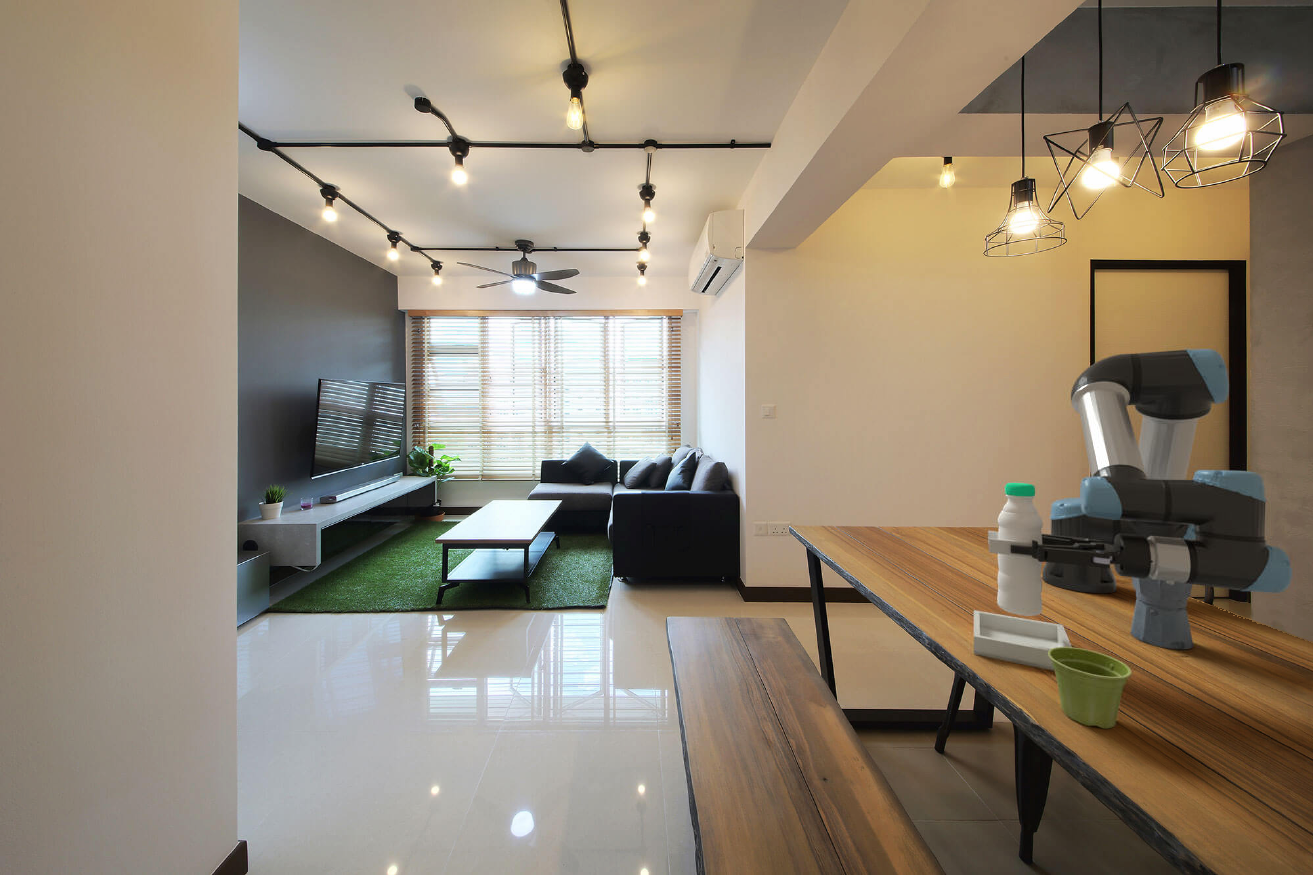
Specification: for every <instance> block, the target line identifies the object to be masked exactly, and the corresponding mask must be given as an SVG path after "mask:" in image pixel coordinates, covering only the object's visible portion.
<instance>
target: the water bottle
mask: <svg viewBox="0 0 1313 875" xmlns="http://www.w3.org/2000/svg"><path fill="white" fill-rule="evenodd" d="M1004 494H1005V497H1007V501H1006V503H1005V504H1004V505H1003V508H1002V510H1001V511H1000V513H999V515H998V517H997V524H998V531H997V532H998V539H1002V540H1013V541H1022V542H1031V547H1032V540H1035V541H1037V542H1038V544H1041V545H1042V534H1043V533H1042V528H1043V523H1044V522H1043V519H1042V517H1041V516H1040V514H1039V513H1038V510H1037V507H1036V506H1035V505H1034V503H1033V500H1034V499H1035V495H1036V487H1035V485H1034V484H1031V483H1025V482H1008V483H1006V484H1005V486H1004ZM997 566H998V572H997V585H998V589H997V594H996V595H997V597H996V598H997V600H996V602H997V605H998V607H999V608H1000V609H1001V610H1004V611H1005V612H1008V613H1010V614H1014V615H1019V616H1027V617H1032V616H1035V617H1036V616H1038V615H1040V614H1041V613H1042V612H1043V598H1042V592H1043V591H1042V590H1043V579H1042V571H1043V568H1042V567H1043V562H1040V561H1038V559H1034V558H1032V556H1031V557H1023V556H1014V555H1005V554H997Z"/></svg>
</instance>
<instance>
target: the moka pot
mask: <svg viewBox="0 0 1313 875" xmlns="http://www.w3.org/2000/svg"><path fill="white" fill-rule="evenodd" d="M1131 582H1132V587H1133V589H1134V591H1135V597H1136V600H1135V606H1134V610H1133V615H1132V616H1133V617H1132V622H1131V626H1130V627H1131V628H1130V635H1131V636H1133V638H1136V639H1137V640H1139V641H1140V642H1142V643H1146V644H1148V645H1151V646H1155V647H1159V648H1163V649H1164V648H1165V649H1171V650H1189V649H1192V648H1193V647H1194V640H1193V637H1192V636H1193V635H1192V632H1191V626H1190V620H1189V616H1188V611H1187V606H1188V599H1189V598H1191V593H1192V589H1193V584H1187V583H1179V582H1174V585H1170V584H1167V583H1166V581H1162V580H1154V579H1152V578H1151V577H1149V576H1148V577H1147V578H1145V579H1142V578H1134V577H1131Z"/></svg>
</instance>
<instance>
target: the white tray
mask: <svg viewBox="0 0 1313 875" xmlns="http://www.w3.org/2000/svg"><path fill="white" fill-rule="evenodd" d="M1056 647H1073V646H1072V643H1071V642H1070V639H1069V637H1068V635H1067V632H1066V630H1065V628H1064V625H1063V624H1059V623H1053V622H1048V621H1047V622H1046V621H1040V620H1036V619H1035V620H1034V619H1028V618H1023V617H1015V616H1011V615H1006V614H1005V615H1004V614H998V613H993V612H986V611H980V610H973V655H977V656H980V657H986V658H992V659H995V660H1001V661H1004V662H1009V663H1015V664H1021V665H1026V666H1029V667H1035V668H1038V669H1044V670H1048V671H1049V670H1050V671H1053V672H1055V669H1054V667H1053V665H1052V660H1051V659H1050V658H1049V656H1048V651H1049V650H1050V649H1052V648H1056Z"/></svg>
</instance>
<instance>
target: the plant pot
mask: <svg viewBox="0 0 1313 875" xmlns="http://www.w3.org/2000/svg"><path fill="white" fill-rule="evenodd" d="M1048 656H1049V658H1050V659H1051V660H1052V665H1053V667H1054V669H1055V671H1054V672H1055V679H1056V682H1057V688H1058V695H1059V700H1060V707H1061V709H1062V711H1063V713H1064V714H1065V715H1066V716H1067V717H1068V718H1070V719H1071V720H1073V721H1076V723H1080V724H1081V725H1084V726H1088V727H1091V726H1094V727H1096V726H1097V727H1099V728H1101V729H1112V728H1113V727H1115V726H1116V724H1117V718H1118V714H1119V709H1120V703H1121V699H1122V694H1123V689H1124V686H1125V685H1126V684H1127V682H1128V681H1127V680H1128V679H1129V678H1130V677H1131V676H1132V669H1131V668H1130V667H1129V666H1128V665H1127V664H1126V663H1123V662H1122V661H1121V660H1119V659H1116V658H1115V657H1112V656H1110V655H1107V654H1104V653H1100V652H1098V651H1095V650H1094V651H1093V650H1090V649H1086V648H1080V647H1073V646H1072V647H1056V648H1052V649H1050V650H1049V651H1048Z"/></svg>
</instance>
